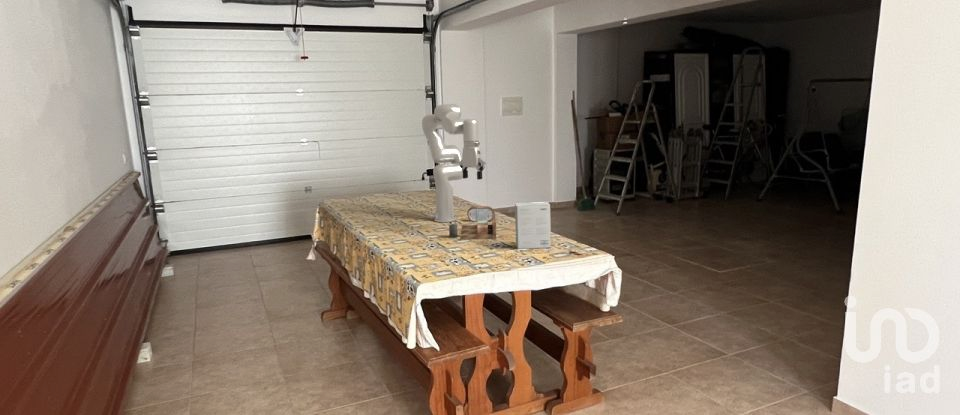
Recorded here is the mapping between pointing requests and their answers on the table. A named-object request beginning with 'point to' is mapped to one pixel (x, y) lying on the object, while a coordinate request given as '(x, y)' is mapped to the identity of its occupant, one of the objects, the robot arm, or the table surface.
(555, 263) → the table surface
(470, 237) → the lane rack
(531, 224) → the hard drive box
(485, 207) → the tin
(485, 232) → the pull block
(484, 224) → the sage block
